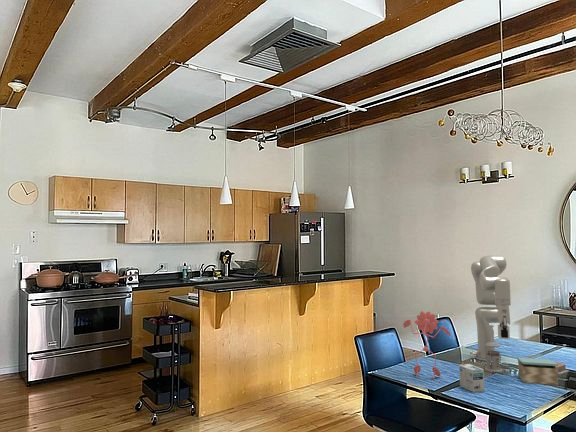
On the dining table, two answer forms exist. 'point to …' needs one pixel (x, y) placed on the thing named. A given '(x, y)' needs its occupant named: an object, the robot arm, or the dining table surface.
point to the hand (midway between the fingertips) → (503, 336)
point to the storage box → (538, 374)
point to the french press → (493, 357)
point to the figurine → (426, 324)
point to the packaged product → (561, 368)
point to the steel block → (500, 331)
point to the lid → (537, 362)
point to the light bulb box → (472, 377)
